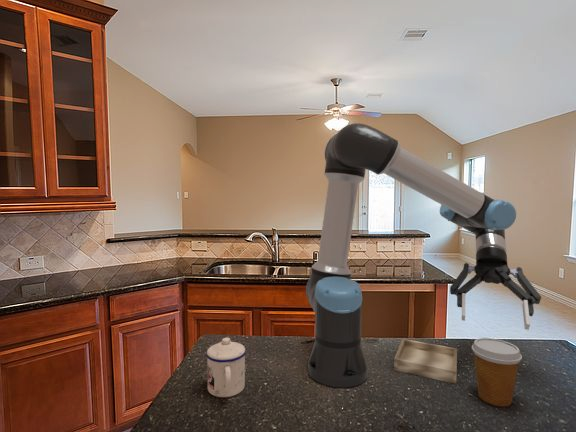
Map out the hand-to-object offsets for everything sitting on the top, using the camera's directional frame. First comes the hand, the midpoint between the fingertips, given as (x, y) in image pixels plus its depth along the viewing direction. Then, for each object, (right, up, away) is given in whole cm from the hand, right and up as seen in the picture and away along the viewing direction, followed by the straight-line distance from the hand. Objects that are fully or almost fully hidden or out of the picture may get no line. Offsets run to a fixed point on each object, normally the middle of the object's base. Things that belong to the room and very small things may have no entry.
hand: (494, 322), depth 84 cm
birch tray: (-14, -14, +8) cm, 21 cm away
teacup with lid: (-65, -14, -6) cm, 67 cm away
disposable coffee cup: (-5, -15, -8) cm, 17 cm away
